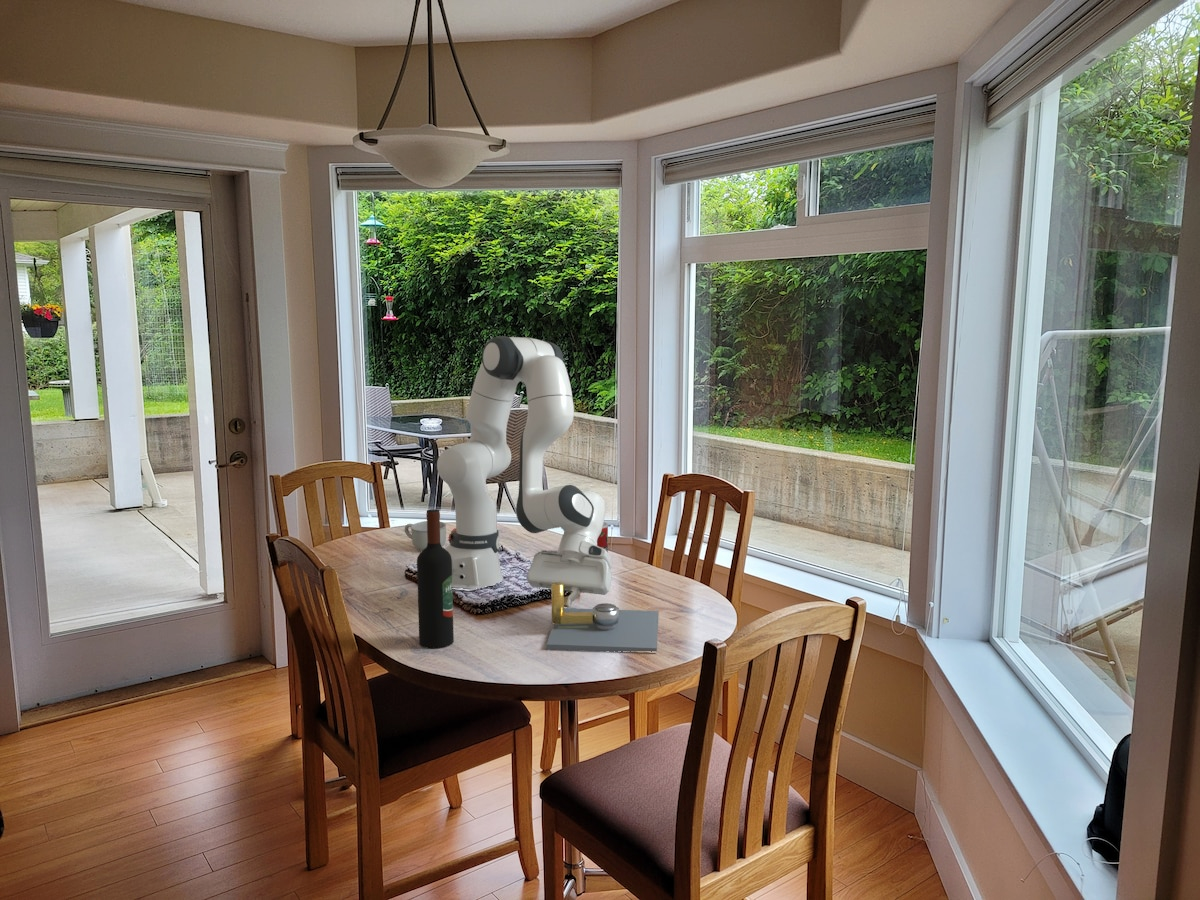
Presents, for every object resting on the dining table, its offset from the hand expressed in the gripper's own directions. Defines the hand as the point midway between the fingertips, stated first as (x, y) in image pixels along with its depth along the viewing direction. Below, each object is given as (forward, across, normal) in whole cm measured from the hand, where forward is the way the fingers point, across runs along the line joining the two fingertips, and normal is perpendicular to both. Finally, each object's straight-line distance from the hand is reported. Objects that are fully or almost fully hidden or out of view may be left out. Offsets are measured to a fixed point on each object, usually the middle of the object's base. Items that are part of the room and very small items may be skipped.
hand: (560, 605), depth 198 cm
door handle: (+2, +6, +3) cm, 7 cm away
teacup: (-32, -67, +40) cm, 84 cm away
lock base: (+2, +10, +6) cm, 12 cm away
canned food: (-37, -13, +46) cm, 60 cm away
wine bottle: (+16, -23, -8) cm, 29 cm away
